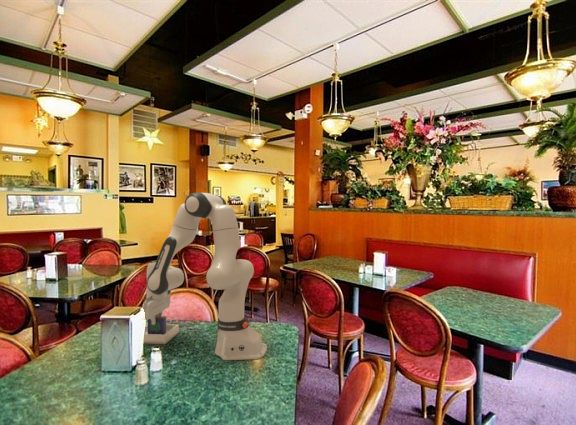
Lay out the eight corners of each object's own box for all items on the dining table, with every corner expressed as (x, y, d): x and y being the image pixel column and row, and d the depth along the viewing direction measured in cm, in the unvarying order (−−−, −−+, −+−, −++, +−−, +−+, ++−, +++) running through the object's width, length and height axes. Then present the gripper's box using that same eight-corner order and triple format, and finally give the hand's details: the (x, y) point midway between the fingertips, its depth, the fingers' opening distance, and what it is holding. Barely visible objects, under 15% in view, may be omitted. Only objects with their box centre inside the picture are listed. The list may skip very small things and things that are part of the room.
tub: (178, 332, 158) (178, 324, 158) (165, 344, 144) (165, 335, 144) (148, 331, 160) (148, 323, 160) (132, 342, 146) (132, 334, 146)
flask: (167, 334, 153) (167, 312, 153) (164, 337, 150) (164, 314, 150) (149, 333, 154) (149, 311, 154) (145, 336, 151) (145, 313, 151)
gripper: (150, 300, 141) (150, 330, 141) (172, 289, 161) (172, 316, 161) (137, 299, 142) (137, 330, 142) (160, 288, 162) (160, 315, 162)
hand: (156, 322), depth 152 cm, fingers closed on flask, 3 cm apart
